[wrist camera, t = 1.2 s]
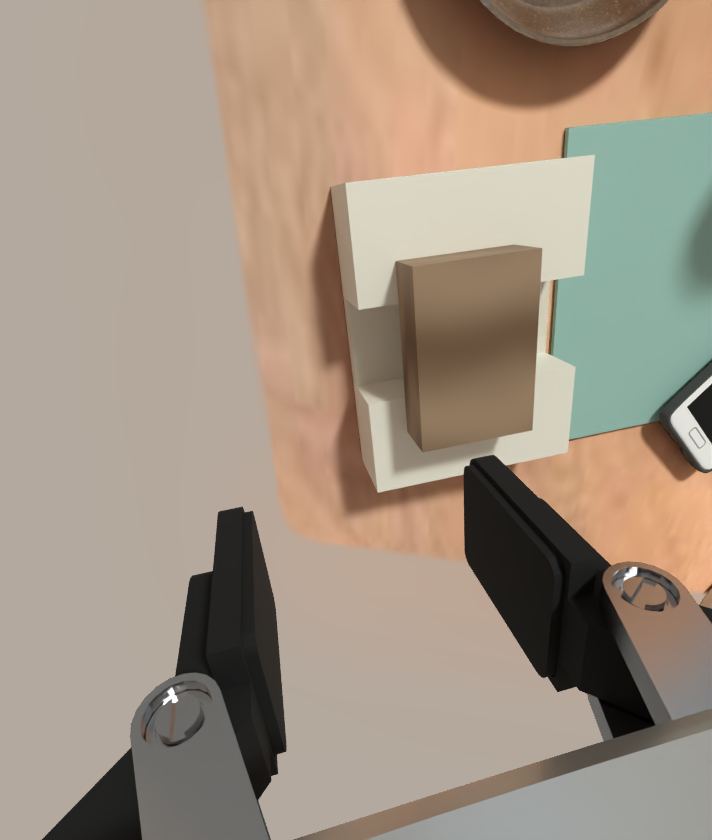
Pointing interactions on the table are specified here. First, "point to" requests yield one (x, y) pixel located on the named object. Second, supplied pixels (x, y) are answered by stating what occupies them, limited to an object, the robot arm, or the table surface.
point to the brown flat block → (469, 343)
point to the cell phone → (692, 420)
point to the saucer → (572, 18)
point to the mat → (639, 272)
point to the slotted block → (442, 234)
